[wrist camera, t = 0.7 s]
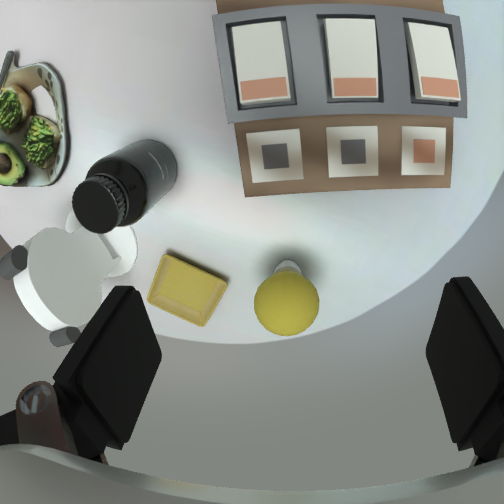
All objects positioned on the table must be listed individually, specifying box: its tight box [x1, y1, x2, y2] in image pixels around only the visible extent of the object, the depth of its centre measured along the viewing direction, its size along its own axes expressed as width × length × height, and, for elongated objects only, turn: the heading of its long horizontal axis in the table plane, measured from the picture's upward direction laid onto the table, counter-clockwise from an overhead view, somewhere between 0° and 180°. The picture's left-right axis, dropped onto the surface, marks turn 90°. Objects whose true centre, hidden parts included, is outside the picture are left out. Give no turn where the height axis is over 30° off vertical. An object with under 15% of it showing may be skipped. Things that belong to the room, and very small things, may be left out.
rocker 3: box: [404, 22, 461, 102], centre depth 21 cm, size 7×4×2 cm, turn 7°
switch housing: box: [212, 4, 467, 124], centre depth 23 cm, size 10×22×3 cm, turn 97°
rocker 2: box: [323, 18, 378, 98], centre depth 22 cm, size 7×4×2 cm, turn 7°
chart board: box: [216, 0, 453, 197], centre depth 26 cm, size 22×22×2 cm
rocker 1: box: [232, 21, 291, 105], centre depth 23 cm, size 7×4×2 cm, turn 7°
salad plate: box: [0, 51, 69, 187], centre depth 30 cm, size 19×18×5 cm
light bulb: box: [254, 260, 319, 336], centre depth 34 cm, size 7×7×10 cm
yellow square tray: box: [147, 254, 227, 327], centre depth 41 cm, size 9×9×2 cm
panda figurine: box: [0, 209, 138, 347], centre depth 33 cm, size 12×11×15 cm
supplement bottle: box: [72, 140, 177, 234], centre depth 29 cm, size 7×7×12 cm
